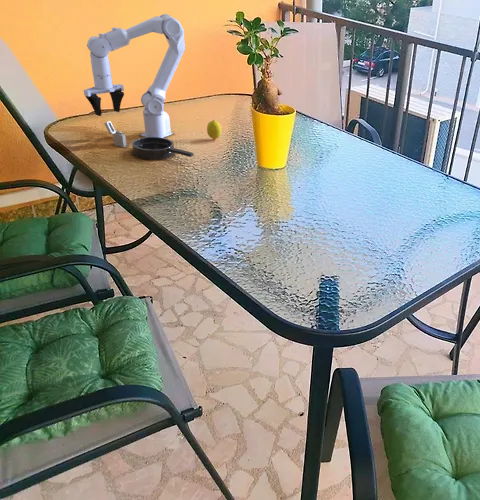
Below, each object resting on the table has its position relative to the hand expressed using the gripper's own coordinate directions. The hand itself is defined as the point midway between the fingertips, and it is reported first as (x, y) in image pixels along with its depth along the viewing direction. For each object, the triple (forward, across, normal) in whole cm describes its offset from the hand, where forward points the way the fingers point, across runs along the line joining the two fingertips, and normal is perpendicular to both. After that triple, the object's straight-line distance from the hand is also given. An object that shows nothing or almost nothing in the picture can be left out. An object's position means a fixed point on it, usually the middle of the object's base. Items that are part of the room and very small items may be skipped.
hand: (107, 113), depth 169 cm
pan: (+9, +1, -21) cm, 23 cm away
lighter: (+10, -3, -6) cm, 12 cm away
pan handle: (+7, +3, -33) cm, 33 cm away
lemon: (+10, +27, -26) cm, 38 cm away
